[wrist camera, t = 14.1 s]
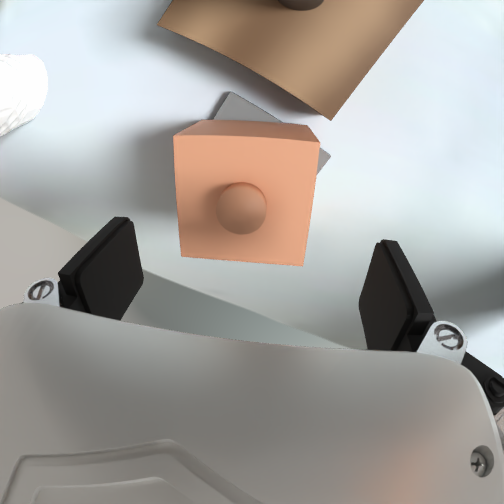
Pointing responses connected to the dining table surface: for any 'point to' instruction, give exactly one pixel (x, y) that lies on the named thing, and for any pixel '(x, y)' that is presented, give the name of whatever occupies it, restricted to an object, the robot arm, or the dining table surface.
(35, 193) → the dining table surface
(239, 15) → the post base
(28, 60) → the white cup
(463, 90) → the dining table surface
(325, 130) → the dining table surface
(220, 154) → the peach cube
